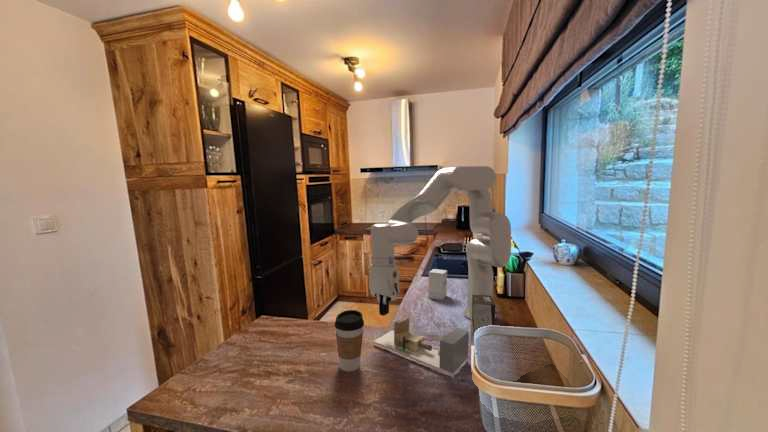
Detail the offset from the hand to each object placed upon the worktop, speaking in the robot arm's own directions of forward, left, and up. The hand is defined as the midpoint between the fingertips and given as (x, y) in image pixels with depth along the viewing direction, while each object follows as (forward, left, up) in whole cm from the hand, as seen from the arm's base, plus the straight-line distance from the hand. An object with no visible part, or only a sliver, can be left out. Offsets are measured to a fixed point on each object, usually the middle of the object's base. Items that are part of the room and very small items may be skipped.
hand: (384, 313), depth 103 cm
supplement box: (-48, -6, -9) cm, 50 cm away
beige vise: (+1, +14, -9) cm, 17 cm away
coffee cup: (+19, +2, -9) cm, 21 cm away
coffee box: (-15, +28, -9) cm, 33 cm away
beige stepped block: (+1, +13, -7) cm, 15 cm away
